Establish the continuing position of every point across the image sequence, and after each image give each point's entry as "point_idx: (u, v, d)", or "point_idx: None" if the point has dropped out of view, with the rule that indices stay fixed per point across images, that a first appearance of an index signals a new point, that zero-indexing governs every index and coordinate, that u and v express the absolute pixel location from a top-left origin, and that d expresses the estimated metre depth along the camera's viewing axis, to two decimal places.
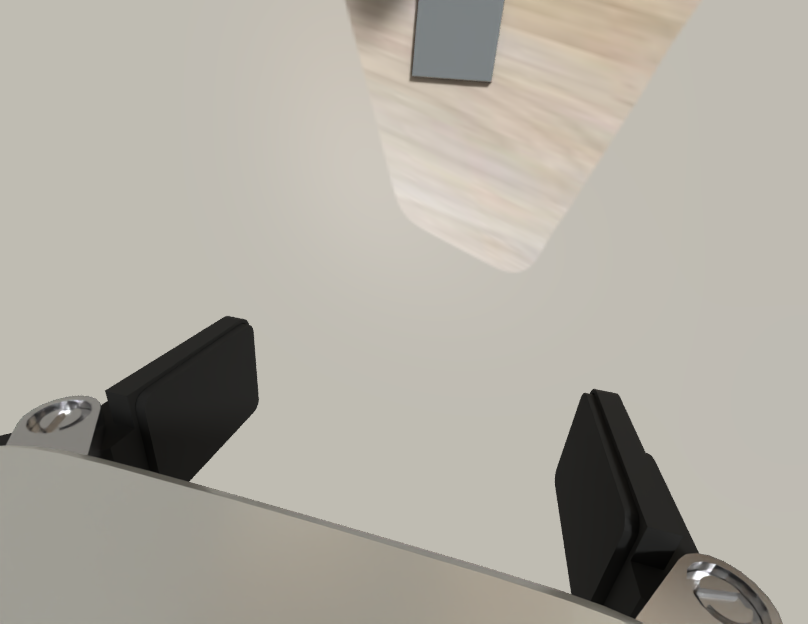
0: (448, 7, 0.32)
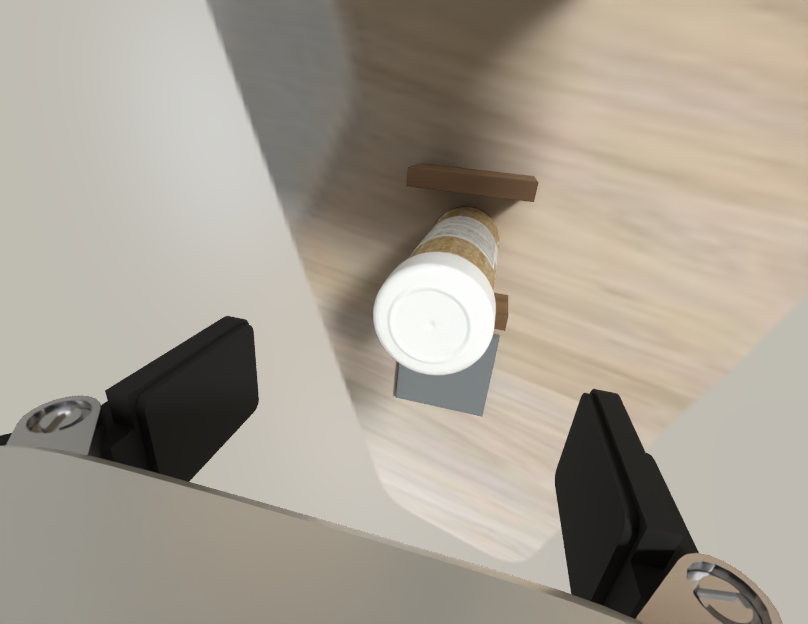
0: None
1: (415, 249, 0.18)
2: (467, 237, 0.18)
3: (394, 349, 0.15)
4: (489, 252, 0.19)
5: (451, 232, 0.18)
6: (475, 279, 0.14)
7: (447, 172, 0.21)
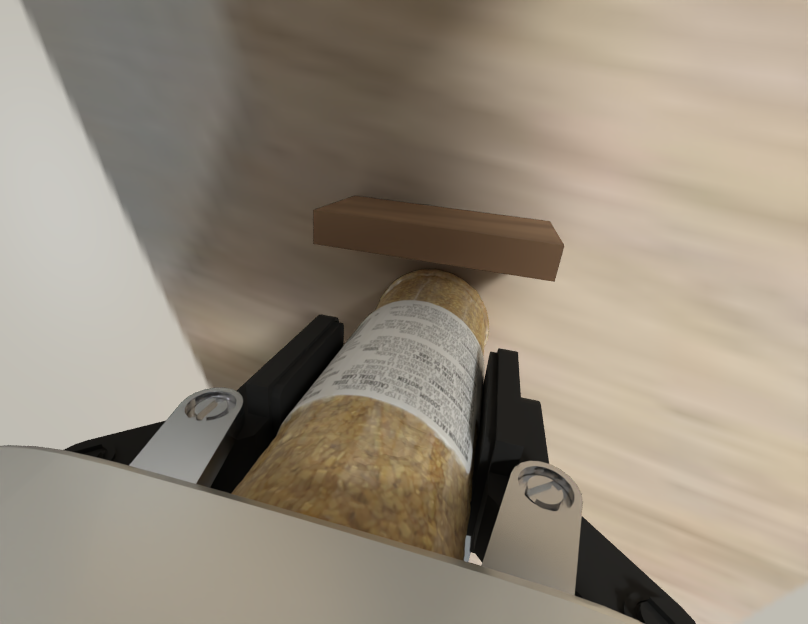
0: None
1: (290, 415, 0.08)
2: (408, 392, 0.08)
3: None
4: (462, 416, 0.08)
5: (373, 376, 0.08)
6: None
7: (386, 221, 0.11)
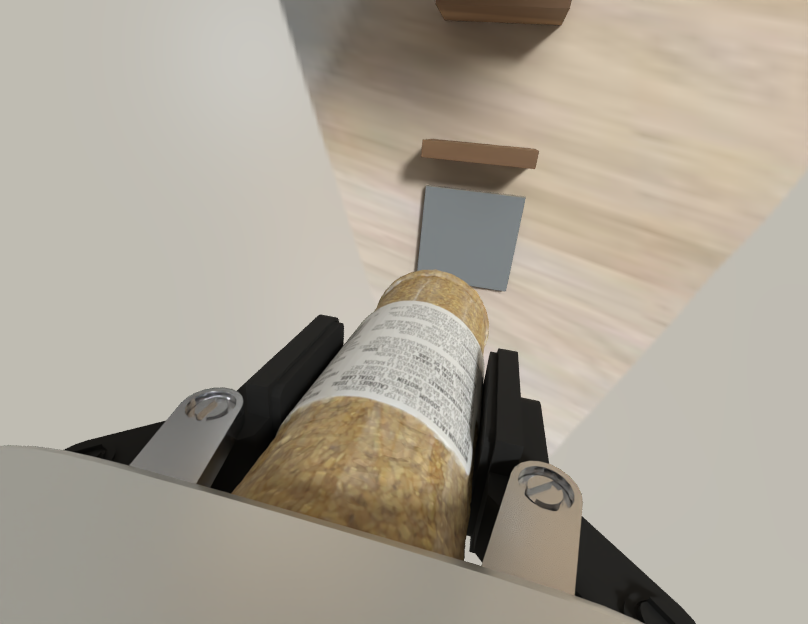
0: (457, 217, 0.29)
1: (289, 416, 0.08)
2: (408, 393, 0.08)
3: None
4: (461, 416, 0.08)
5: (372, 377, 0.08)
6: None
7: None
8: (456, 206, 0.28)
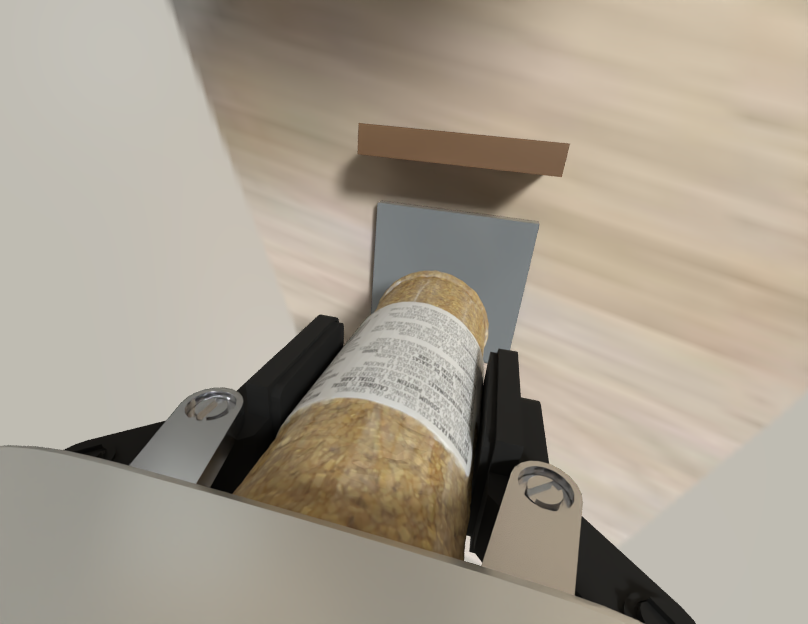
0: (429, 253, 0.18)
1: (289, 417, 0.08)
2: (408, 394, 0.08)
3: None
4: (461, 418, 0.08)
5: (372, 379, 0.08)
6: None
7: None
8: (427, 235, 0.17)
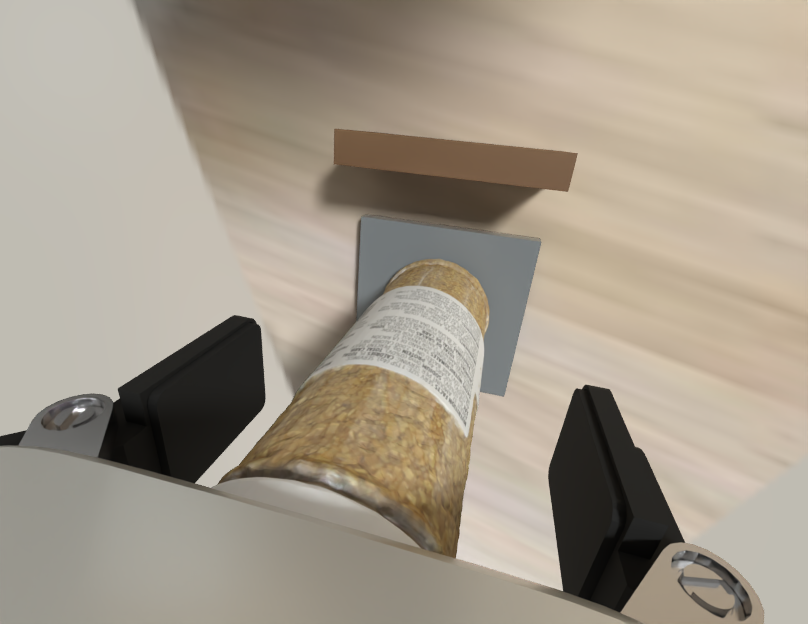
0: None
1: (303, 384, 0.09)
2: (412, 363, 0.08)
3: None
4: (461, 387, 0.09)
5: (379, 349, 0.09)
6: None
7: None
8: (416, 253, 0.16)
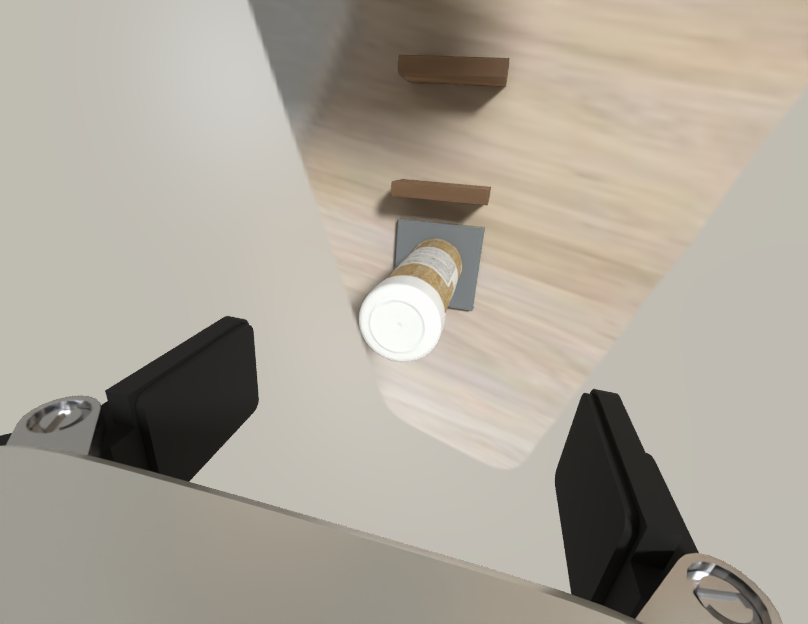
0: None
1: (391, 273, 0.25)
2: (429, 263, 0.25)
3: (374, 343, 0.21)
4: (446, 274, 0.25)
5: (417, 260, 0.25)
6: (427, 293, 0.20)
7: (432, 56, 0.25)
8: (425, 236, 0.32)
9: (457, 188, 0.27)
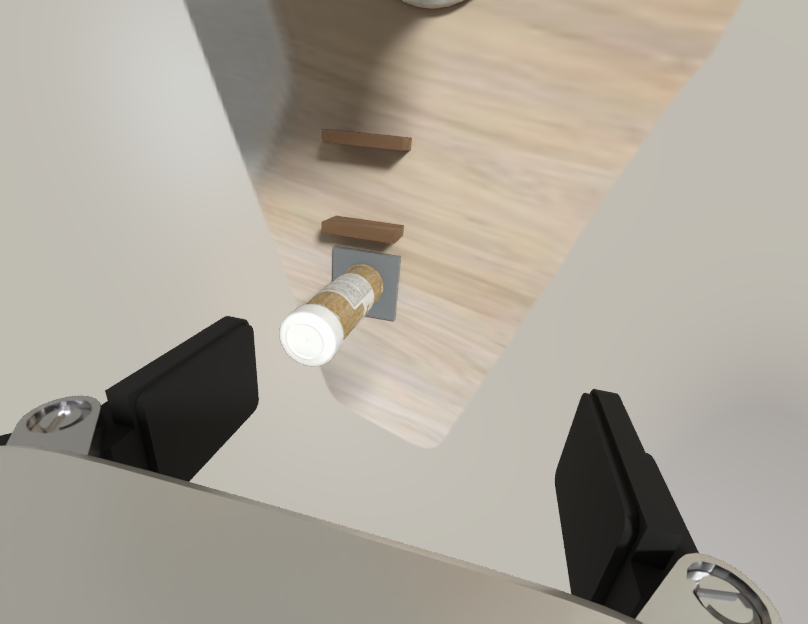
0: None
1: (313, 297, 0.33)
2: (341, 291, 0.33)
3: (290, 353, 0.29)
4: (355, 299, 0.33)
5: (333, 288, 0.33)
6: (325, 319, 0.28)
7: (346, 132, 0.33)
8: (355, 261, 0.40)
9: (371, 229, 0.35)
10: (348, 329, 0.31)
